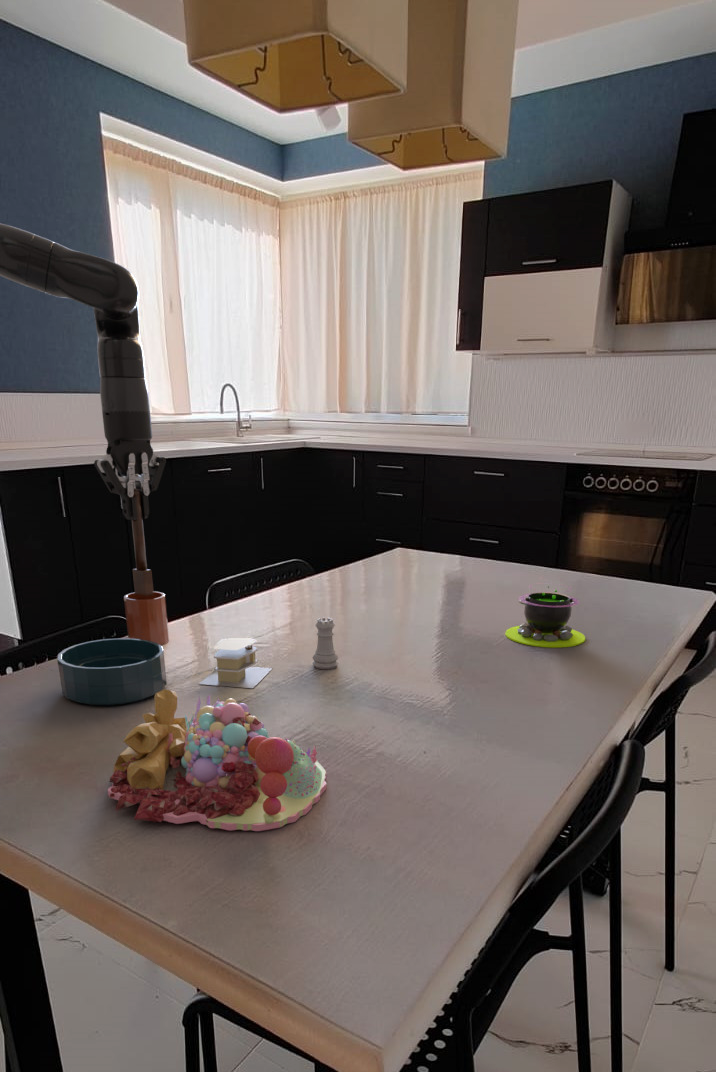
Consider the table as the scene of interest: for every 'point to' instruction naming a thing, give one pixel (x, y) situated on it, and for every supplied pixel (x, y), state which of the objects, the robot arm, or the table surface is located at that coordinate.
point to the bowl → (112, 671)
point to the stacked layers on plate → (236, 664)
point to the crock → (147, 617)
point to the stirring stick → (140, 554)
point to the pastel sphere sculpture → (214, 769)
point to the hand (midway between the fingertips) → (136, 518)
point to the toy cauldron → (546, 621)
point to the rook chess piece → (325, 645)
